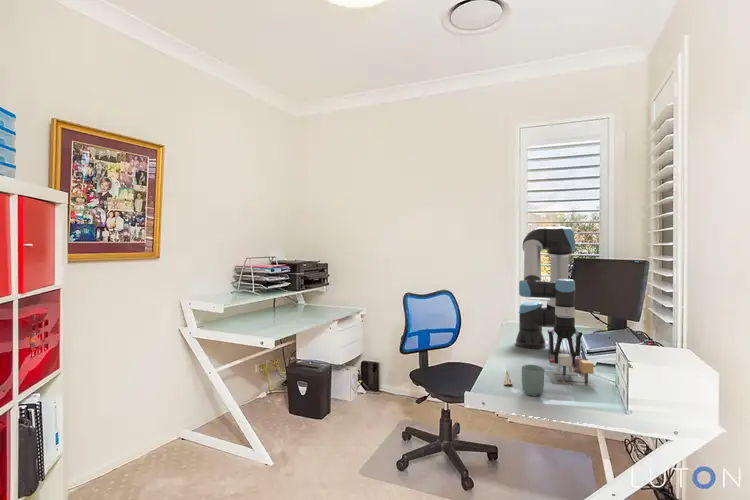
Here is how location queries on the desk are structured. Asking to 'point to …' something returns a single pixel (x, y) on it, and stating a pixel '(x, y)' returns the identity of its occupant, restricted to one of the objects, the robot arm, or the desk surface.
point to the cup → (532, 379)
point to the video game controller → (577, 365)
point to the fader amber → (586, 368)
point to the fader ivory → (565, 361)
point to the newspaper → (507, 379)
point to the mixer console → (568, 378)
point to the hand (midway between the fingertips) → (564, 371)
